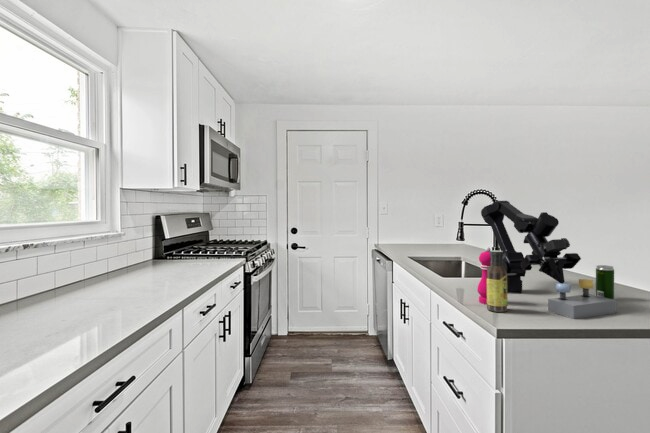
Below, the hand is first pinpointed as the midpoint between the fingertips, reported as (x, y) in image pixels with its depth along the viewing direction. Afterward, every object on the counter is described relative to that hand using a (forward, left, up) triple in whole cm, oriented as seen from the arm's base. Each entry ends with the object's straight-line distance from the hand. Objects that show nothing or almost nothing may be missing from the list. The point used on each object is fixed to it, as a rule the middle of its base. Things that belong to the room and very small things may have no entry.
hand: (562, 282), depth 123 cm
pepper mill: (-22, +6, -10) cm, 25 cm away
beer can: (+18, +21, -10) cm, 29 cm away
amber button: (+8, +6, -6) cm, 12 cm away
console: (+5, +1, -9) cm, 11 cm away
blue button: (0, 0, -6) cm, 6 cm away
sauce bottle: (-20, -4, -10) cm, 23 cm away
